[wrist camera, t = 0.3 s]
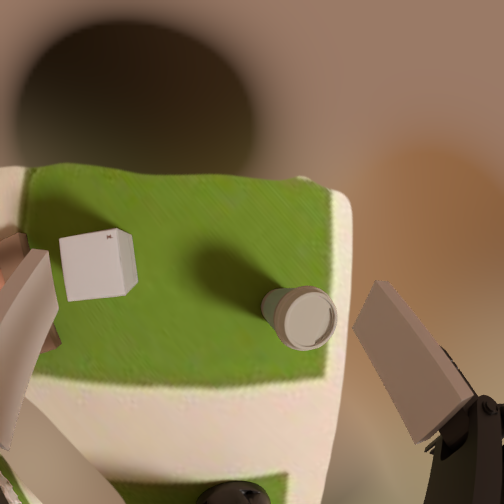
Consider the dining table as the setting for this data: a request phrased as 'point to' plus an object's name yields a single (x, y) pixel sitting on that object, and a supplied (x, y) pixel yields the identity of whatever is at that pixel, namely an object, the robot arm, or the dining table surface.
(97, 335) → the dining table surface
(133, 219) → the dining table surface
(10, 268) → the dock
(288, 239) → the dining table surface
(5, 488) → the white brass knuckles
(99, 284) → the supplement box
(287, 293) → the coffee cup
